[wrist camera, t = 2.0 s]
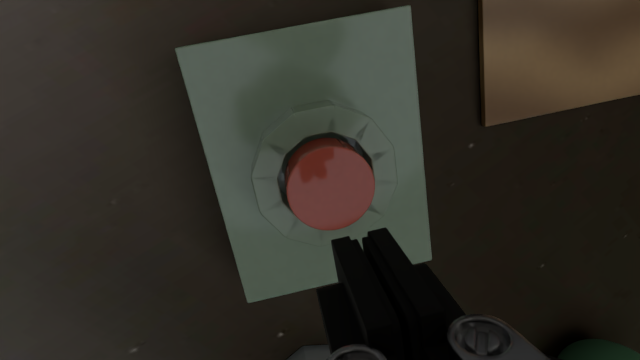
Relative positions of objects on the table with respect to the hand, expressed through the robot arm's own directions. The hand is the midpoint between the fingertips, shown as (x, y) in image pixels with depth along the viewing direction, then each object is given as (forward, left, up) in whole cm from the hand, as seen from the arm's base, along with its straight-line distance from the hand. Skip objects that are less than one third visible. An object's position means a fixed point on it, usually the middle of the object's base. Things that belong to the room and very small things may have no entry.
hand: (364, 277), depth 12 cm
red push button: (0, 0, -8) cm, 8 cm away
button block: (0, 0, -13) cm, 13 cm away
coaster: (-5, +16, -13) cm, 21 cm away
